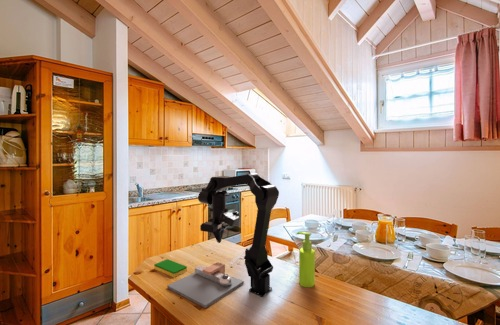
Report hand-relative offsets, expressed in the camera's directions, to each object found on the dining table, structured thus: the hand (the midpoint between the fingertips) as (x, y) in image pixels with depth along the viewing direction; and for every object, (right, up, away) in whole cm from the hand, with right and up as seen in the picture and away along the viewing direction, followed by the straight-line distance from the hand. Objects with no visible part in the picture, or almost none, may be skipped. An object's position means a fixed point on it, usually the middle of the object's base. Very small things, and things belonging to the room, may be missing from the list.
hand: (219, 242), depth 110 cm
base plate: (-4, -14, -10) cm, 17 cm away
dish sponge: (-22, -14, +3) cm, 26 cm away
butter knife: (+4, -13, +8) cm, 16 cm away
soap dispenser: (+35, -14, -8) cm, 38 cm away
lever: (-2, -12, -7) cm, 14 cm away
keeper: (-1, -12, -6) cm, 14 cm away
